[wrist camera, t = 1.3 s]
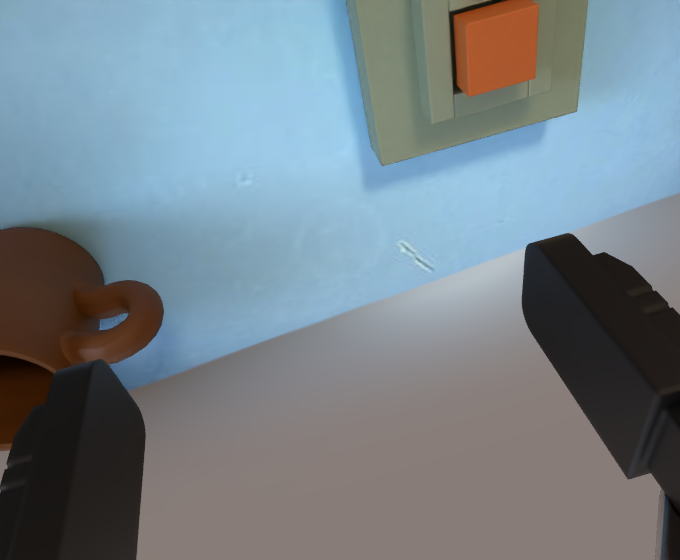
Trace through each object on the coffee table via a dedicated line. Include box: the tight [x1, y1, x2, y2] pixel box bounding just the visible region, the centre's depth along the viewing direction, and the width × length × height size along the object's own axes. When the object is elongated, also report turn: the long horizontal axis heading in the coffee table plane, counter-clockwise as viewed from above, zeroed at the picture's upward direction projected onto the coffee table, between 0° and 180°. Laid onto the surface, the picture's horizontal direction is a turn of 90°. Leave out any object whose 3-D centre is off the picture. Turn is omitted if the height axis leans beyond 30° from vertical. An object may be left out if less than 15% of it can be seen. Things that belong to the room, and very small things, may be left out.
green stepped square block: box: [346, 0, 588, 166], centre depth 26 cm, size 11×11×4 cm
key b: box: [453, 0, 539, 97], centre depth 24 cm, size 3×3×2 cm
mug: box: [0, 227, 164, 451], centre depth 28 cm, size 12×8×9 cm, turn 107°
